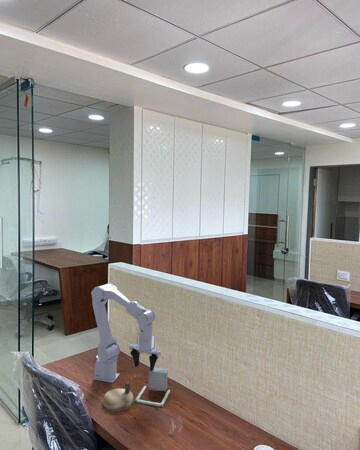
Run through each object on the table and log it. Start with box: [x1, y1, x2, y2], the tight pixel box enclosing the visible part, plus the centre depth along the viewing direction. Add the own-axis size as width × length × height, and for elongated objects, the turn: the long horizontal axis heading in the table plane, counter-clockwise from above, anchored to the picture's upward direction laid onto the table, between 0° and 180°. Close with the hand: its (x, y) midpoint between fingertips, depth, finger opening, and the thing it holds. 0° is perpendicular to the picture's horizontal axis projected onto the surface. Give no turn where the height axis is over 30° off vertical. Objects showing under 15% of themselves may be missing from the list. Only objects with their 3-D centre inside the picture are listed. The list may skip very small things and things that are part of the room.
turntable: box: [103, 381, 134, 410], centre depth 149 cm, size 12×12×6 cm
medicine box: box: [148, 367, 169, 392], centre depth 160 cm, size 8×4×9 cm, turn 84°
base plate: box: [102, 400, 135, 412], centre depth 149 cm, size 12×12×1 cm
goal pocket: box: [134, 385, 171, 408], centre depth 154 cm, size 12×12×1 cm
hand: (144, 368), depth 158 cm, fingers open, 7 cm apart
